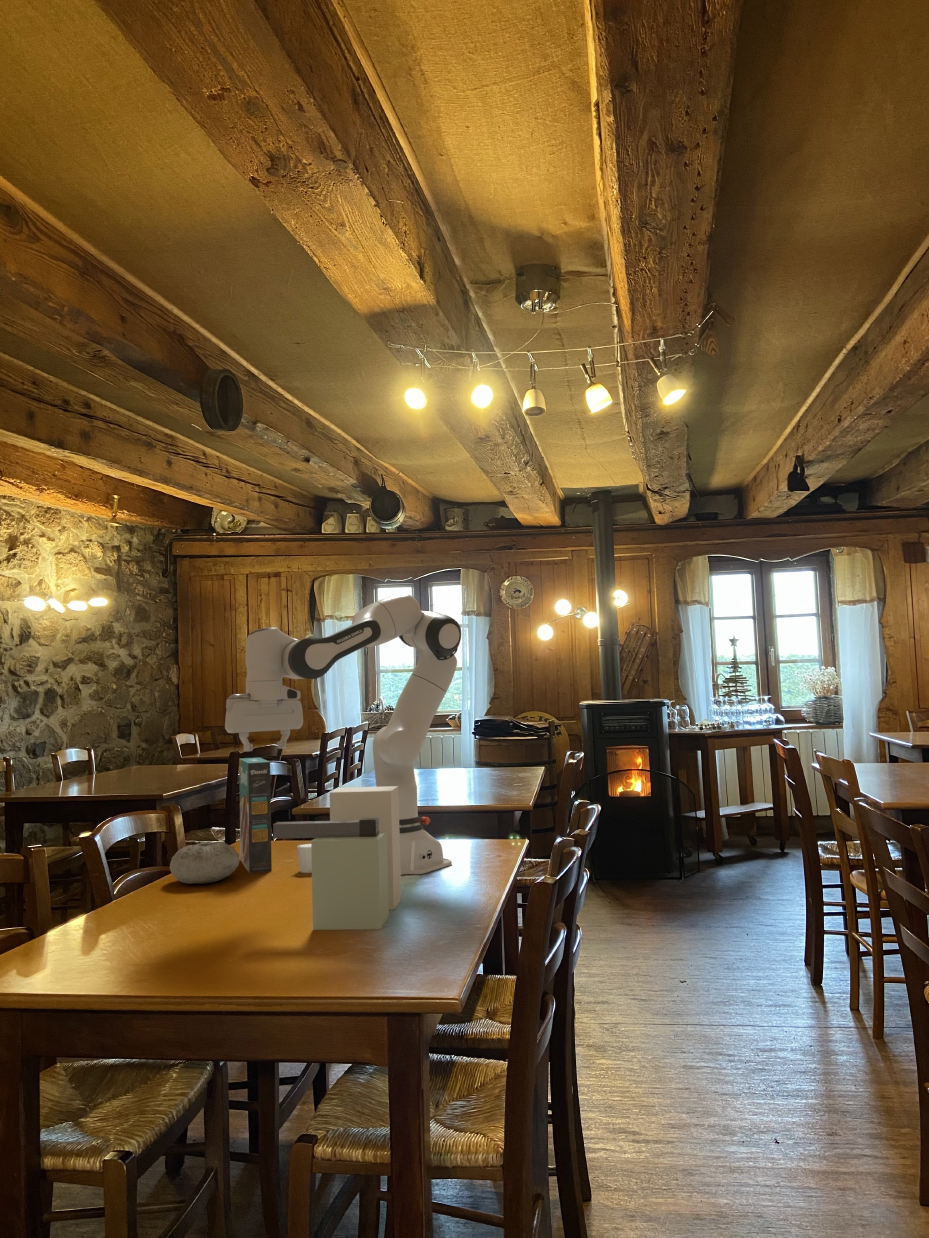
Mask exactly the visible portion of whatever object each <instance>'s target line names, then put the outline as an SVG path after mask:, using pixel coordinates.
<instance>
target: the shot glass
mask: <svg viewBox="0 0 929 1238" xmlns="http://www.w3.org/2000/svg"><path fill="white" fill-rule="evenodd" d="M296 848H297V849H296V850H297V858H298V866H299V867H298V868H299V873H302V874H312V849H311V843H310V842H309V843H301V844H298V845H297V846H296Z"/></svg>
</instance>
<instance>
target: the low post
mask: <svg viewBox="0 0 929 1238" xmlns="http://www.w3.org/2000/svg"><path fill="white" fill-rule="evenodd" d="M311 849H312V873H311V885H312V886H311V887H312V888H311V891H312V892H311V893H312V895H311V898H312V903H311V904H312V930H313V931H332V930H333V931H335V930H336V931H337V930H338V931H339V930H341V931H342V930H343V931H344V930H346V931H348V930H357V931H358V930H381V929H382V928H383V926H384V925H385V923H387V921H388V919H389V918H390V910H389V896H388V856H387V832H379V835H377V836H376V837H328V838H312V839H311Z"/></svg>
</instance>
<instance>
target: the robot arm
mask: <svg viewBox="0 0 929 1238" xmlns="http://www.w3.org/2000/svg"><path fill="white" fill-rule="evenodd" d="M421 609H422V608H421V606H420V603H419V601H417V599H416V598H415V597H414V596H412V595H411V594H408V593H402V594H395V595H392V596H388V597H386V598H382V599H380V600H377V601H375V602H372V603H370V604H368V605H366V606H365V607H363V608H361V609H360V610H358V611H357V612H356V613H355V614H354V615H353V617H352V620H351V624H350V625H348V626H347V627H344V628H343V629H341V630H338V631H336V632H335V633H333V634H330V635H328V636H325V637H318V636H312V637H306V638H303V639H300V640H299V639H297V638H294V637H292V636H290V635H288V634H286V633H285V632H283V631H281V630H280V629H279V627H275V626H269V627H264V628H260V629H255V630H252V631H251V632H250V633H249V634H248V635H247V639H246V643H245V666H246V677H245V693H238V694H237V693H234V694H233V693H232V694H231V695H230V696H229V697H228V698H227V699H226V701H225V709H226V712H225V718H224V720H225V721H224V730H226V733H228V734H236V733H237V734H238V738H239V740H240V742H242V744H243V751H244V752H253V750H254V749H253V747H254V746H253V745H254V744H253V743H250V741H249V739H248V738H249V735H250V734H249V733H254V732H256V733H257V732H269V731H270V732H271V731H280V735H281V737H280V739H279V741H277V743H276V744H277V749H278V750H281V749H283V750H285V749H286V748H287V741H288V740H289V737H290V734H291V730H300V729H301V728H302V727H303V725H304V713H303V705H302V703H301V701H300V699H301V691H300V690H297V689H294V688H292V687H288V686H286V685H283V678H288V679H292V680H302V679H307V680H316V679H319V678H321V677H323V676H325V675H326V674H327V673H329V670H331V669H332V667H333V666H334V665H335V663H336V662H338V661H339V660H341V659H343V658H346V656H348V655H350V654H353V653H354V652H357V651H359V650H360V649H362V648H372V647H377V646H380V645H382V644H386V643H389V642H391V641H393V640H394V639H397V638H399V639H400V641H401V642H402V643H403V644H404V645H406V646H408V647H410V648H414V649H417V650H419V658H418V662H417V664H416V665H415V667H414V669H413V670H412V672H411V674H410V676H409V678H408V680H407V682H406V684H405V686H404V687H403V689H402V691H401V693H400V695H399V696H398V699H397V701H396V704H395V707H394V709H393V712H392V714H391V716H390V720H389V721H388V724H387V725H386V726H383V727H381V728H380V729H379V730H378V731H377V732H376V734H375V735H374V737H373V740H372V757H373V766H374V768H373V769H374V778H375V787H386V786H398V795H399V833H400V871H401V876H402V875H422V874H426V873H429V872H432V871H436V870H439V869H442V868H445V867H449V866H451V865H453V864H452V863H453V862H452V861H451V859H448V858H444V853H443V847H442V844H441V842H440V841H439V840H437V839H436V838H435V837H434V836H432V835H431V834H430V833H429V832H427V831H426V830H425V829H424V825H429V824H430V822H431V819H430V818H429V817H428V816H422V817H420V816H419V815H418V813H419V812H418V811H419V810H418V785H417V782H416V776H415V769H414V762H415V761H416V760H417V759H418V757H419V755H420V752H421V749H422V747H423V746H424V745H423V744H424V742H425V740H426V738H427V735H428V732H429V730H430V727H431V724H432V721H433V719H434V718H435V715H436V713H437V711H438V710H439V707H440V706H441V703H442V702H443V699H444V698H445V696H446V694H447V691H448V690H449V688H450V686H451V683H452V680H453V678H454V675H455V672H456V669H457V666H458V659H457V657H456V655H455V654H456V653H457V651H458V648H459V646H460V643H461V639H462V627H461V626H460V623H459V622H458V621H457V620H456V619H455V618H452V617H451V616H449V615H446V614H442V613H440V612H437V611H432V610H431V611H430V610H429V611H427V610H421Z"/></svg>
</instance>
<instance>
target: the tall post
mask: <svg viewBox="0 0 929 1238" xmlns="http://www.w3.org/2000/svg"><path fill="white" fill-rule="evenodd" d="M372 817H379V832H387V856H388V896H389V911H394V910H395V909H396V908H397V906H398V905H399V903H400V901H401V900H402V883H401V882H402V878H401V877H402V875H401V871H400V833H399V795H398V786H386V787H376V786H351V787H339V788H336V789H334V790H332V791H330V792H329V821H351V820H360V819H361V818H372Z"/></svg>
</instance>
